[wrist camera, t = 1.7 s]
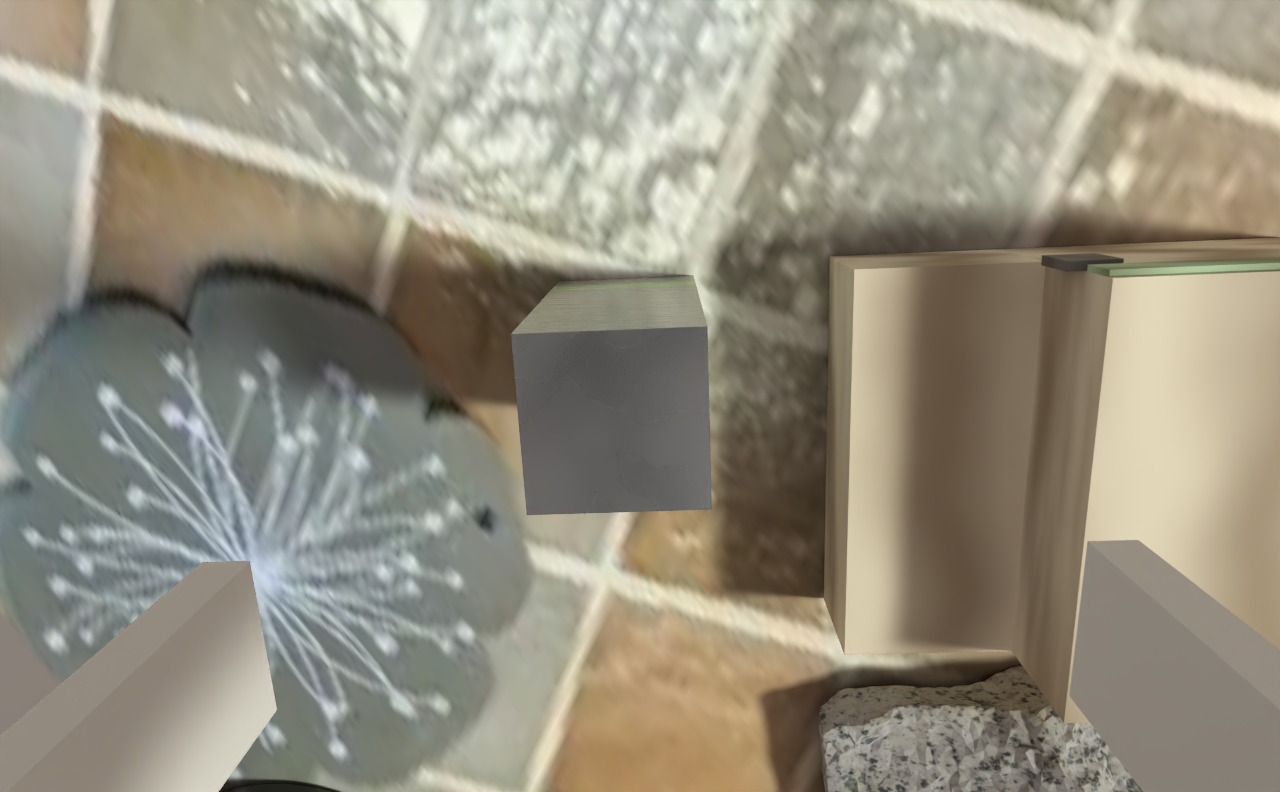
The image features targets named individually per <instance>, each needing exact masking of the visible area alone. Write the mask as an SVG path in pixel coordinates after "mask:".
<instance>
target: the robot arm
mask: <svg viewBox="0 0 1280 792" xmlns="http://www.w3.org/2000/svg"><path fill="white" fill-rule="evenodd" d="M1069 696H1070V698H1071V699H1072V700H1073V701H1074V703H1075V704H1076V705H1077V707H1078V708H1079V709H1080V711H1081V712H1082V713H1083V714H1084V716H1085V717H1086V718H1087V720H1088V721H1089V722H1090V723H1091V725H1092V726H1093V727H1094V729H1095V730H1096V731H1097V733H1098V734H1099V735H1100V736H1101V738H1102V739H1103V740H1104V742H1105V743H1106V744H1107V745H1108V747H1109V748H1110V749H1111V751H1112V752H1113V753H1114V755H1115V756H1116V757H1117V758H1118V760H1119V761H1120V762H1121V764H1122V765H1123V766H1124V767H1125V769H1126V770H1127V771H1128V773H1129V774H1130V775H1131V777H1132V778H1133V779H1134V780H1135V782H1136V783H1137V784H1138V786H1139V787H1140V788H1141V789H1142V791H1143V792H1280V650H1279V649H1278V648H1277V647H1275V646H1274V645H1273V644H1271V643H1270V642H1269V641H1268V640H1266V639H1265V638H1264V637H1262V636H1261V635H1260V634H1259V633H1257V632H1256V631H1255V630H1253V629H1252V628H1251V627H1250V626H1248V625H1247V624H1246V623H1244V622H1243V621H1242V620H1241V619H1239V618H1238V617H1237V616H1235V615H1234V614H1233V613H1232V612H1230V611H1229V610H1228V609H1226V608H1225V607H1224V606H1223V605H1221V604H1220V603H1219V602H1217V601H1216V600H1215V599H1214V598H1212V597H1211V596H1210V595H1208V594H1207V593H1206V592H1205V591H1203V590H1202V589H1201V588H1199V587H1198V586H1197V585H1196V584H1194V583H1193V582H1192V581H1191V580H1189V579H1188V578H1187V577H1185V576H1184V575H1183V574H1182V573H1180V572H1179V571H1178V570H1176V569H1175V568H1174V567H1173V566H1171V565H1170V564H1169V563H1167V562H1166V561H1165V560H1164V559H1162V558H1161V557H1160V556H1158V555H1157V554H1156V553H1155V552H1153V551H1152V550H1151V549H1149V548H1148V547H1147V546H1146V545H1144V544H1143V543H1142V542H1140V541H1139V540H1113V541H1088V542H1087V550H1086V559H1085V567H1084V576H1083V584H1082V593H1081V601H1080V609H1079V618H1078V626H1077V635H1076V643H1075V652H1074V660H1073V669H1072V677H1071V686H1070V694H1069ZM276 710H277V708H276V702H275V697H274V691H273V686H272V680H271V675H270V669H269V664H268V659H267V653H266V648H265V642H264V637H263V631H262V626H261V620H260V615H259V609H258V604H257V599H256V593H255V588H254V582H253V577H252V571H251V566H250V561H233V562H202V563H201V564H200V565H199V566H198V567H196V568H195V569H194V570H193V571H192V572H191V573H189V574H188V575H187V576H186V577H185V578H184V579H182V580H181V581H180V582H179V583H178V584H177V585H175V586H174V587H173V588H172V589H171V590H170V591H168V592H167V593H166V594H165V595H164V596H163V597H161V598H160V599H159V600H158V601H157V602H156V603H154V604H153V605H152V606H151V607H150V608H149V609H147V610H146V611H145V612H144V613H143V614H142V615H140V616H139V617H138V618H137V619H136V620H135V621H133V622H132V623H131V624H130V625H129V626H128V627H126V628H125V629H124V630H123V631H122V632H121V633H119V634H118V635H117V636H116V637H115V638H114V639H112V640H111V641H110V642H109V643H108V644H107V645H105V646H104V647H103V648H102V649H101V650H100V651H98V652H97V653H96V654H95V655H94V656H93V657H91V658H90V659H89V660H88V661H87V662H86V663H84V664H83V665H82V666H81V667H80V668H79V669H77V670H76V671H75V672H74V673H73V674H72V675H70V676H69V677H68V678H67V679H66V680H65V681H63V682H62V683H61V684H60V685H59V686H58V687H56V688H55V689H54V690H53V691H52V692H51V693H49V694H48V695H47V696H46V697H45V698H44V699H42V700H41V701H40V702H39V703H38V704H37V705H35V706H34V707H33V708H32V709H31V710H30V711H28V712H27V713H26V714H25V715H24V716H23V717H21V718H20V719H19V720H18V721H17V722H16V723H14V724H13V725H12V726H11V727H10V728H9V729H7V730H6V731H5V732H4V733H3V734H2V735H0V792H219V790H220V789H221V788H222V786H223V785H224V783H225V782H226V781H227V779H228V778H229V776H230V775H231V774H232V772H233V771H234V769H235V768H236V767H237V765H238V764H239V762H240V761H241V760H242V758H243V757H244V755H245V754H246V753H247V751H248V750H249V748H250V747H251V745H252V744H253V743H254V741H255V740H256V738H257V737H258V736H259V734H260V733H261V731H262V730H263V729H264V727H265V726H266V724H267V723H268V722H269V720H270V719H271V717H272V716H273V715H274V713H275V712H276ZM224 792H331V791H327V790H324V789H319V788H314V787H309V786H301V785H292V784H260V785H251V786H245V787H239V788H235V789H231V790H227V791H224Z"/></svg>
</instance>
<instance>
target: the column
mask: <svg viewBox="0 0 1280 792" xmlns="http://www.w3.org/2000/svg"><path fill="white" fill-rule="evenodd" d="M511 341H512V352H513V364H514V375H515V386H516V397H517V408H518V420H519V431H520V442H521V453H522V464H523V476H524V487H525V498H526V509H527V515H543V514H576V513H609V512H641V511H674V510H707V509H712V506H711V463H710V420H709V377H708V334H707V323H706V320H705V316H704V312H703V309H702V305H701V302H700V298H699V294H698V291H697V287H696V283H695V280H694V276H671V277H647V278H623V279H599V280H575V281H559V282H558V283H557V284H556V285H555V286H554V287H553V288H552V290H551V291H550V292H549V293H548V294H547V295H546V296H545V297H544V298H543V299H542V300H541V302H540V303H539V304H538V305H537V306H536V307H535V308H534V309H533V310H532V311H531V313H530V314H529V315H528V316H527V317H526V318H525V319H524V320H523V321H522V322H521V323H520V325H519V326H518V327H517V328H516V329H515V330H514V331H513V332H512V333H511Z"/></svg>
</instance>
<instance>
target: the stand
mask: <svg viewBox="0 0 1280 792" xmlns="http://www.w3.org/2000/svg"><path fill="white" fill-rule="evenodd" d="M1113 540H1139V541H1140V542H1142V543H1143V544H1144V545H1146V546H1147V547H1148V548H1149V549H1151V550H1152V551H1153V552H1155V553H1156V554H1157V555H1158V556H1160V557H1161V558H1162V559H1164V560H1165V561H1166V562H1167V563H1169V564H1170V565H1171V566H1173V567H1174V568H1175V569H1176V570H1178V571H1179V572H1180V573H1182V574H1183V575H1184V576H1185V577H1187V578H1188V579H1189V580H1191V581H1192V582H1193V583H1194V584H1196V585H1197V586H1198V587H1199V588H1201V589H1202V590H1203V591H1205V592H1206V593H1207V594H1208V595H1210V596H1211V597H1212V598H1214V599H1215V600H1216V601H1217V602H1219V603H1220V604H1221V605H1223V606H1224V607H1225V608H1226V609H1228V610H1229V611H1230V612H1232V613H1233V614H1234V615H1235V616H1237V617H1238V618H1239V619H1241V620H1242V621H1243V622H1244V623H1246V624H1247V625H1248V626H1250V627H1251V628H1252V629H1253V630H1255V631H1256V632H1257V633H1259V634H1260V635H1261V636H1262V637H1264V638H1265V639H1266V640H1268V641H1269V642H1270V643H1271V644H1273V645H1274V646H1275V647H1277V648H1278V649H1279V650H1280V237H1276V238H1252V239H1229V240H1205V241H1181V242H1158V243H1134V244H1110V245H1087V246H1063V247H1039V248H1016V249H992V250H968V251H945V252H921V253H897V254H874V255H850V256H830V273H829V331H828V389H827V447H826V505H825V563H824V601H825V603H826V606H827V609H828V611H829V614H830V617H831V619H832V622H833V625H834V627H835V630H836V633H837V636H838V638H839V641H840V644H841V646H842V649H843V652H844V654H845V655H853V654H896V653H939V652H982V651H1012V652H1013V653H1014V655H1015V656H1016V657H1017V659H1018V660H1019V662H1020V663H1021V664H1022V666H1023V667H1024V669H1025V670H1026V671H1027V673H1028V674H1029V675H1030V677H1031V678H1032V680H1033V681H1034V682H1035V684H1036V685H1037V687H1038V688H1039V689H1040V691H1041V692H1042V694H1043V695H1044V696H1045V698H1046V699H1047V700H1048V702H1049V703H1050V705H1051V706H1052V707H1053V709H1054V710H1055V712H1056V713H1057V714H1058V716H1059V717H1060V719H1061V720H1062V721H1063V723H1090V722H1089V721H1088V720H1087V718H1086V717H1085V716H1084V714H1083V713H1082V712H1081V711H1080V709H1079V708H1078V707H1077V705H1076V704H1075V703H1074V701H1073V700H1072V699H1071V698H1070V696H1069V694H1070V686H1071V677H1072V669H1073V660H1074V652H1075V643H1076V635H1077V626H1078V618H1079V609H1080V601H1081V593H1082V584H1083V576H1084V567H1085V559H1086V550H1087V542H1088V541H1113Z"/></svg>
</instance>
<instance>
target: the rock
mask: <svg viewBox="0 0 1280 792" xmlns="http://www.w3.org/2000/svg"><path fill="white" fill-rule="evenodd" d="M818 712H819V717H820V720H819V737H820V742H821V751H822V774H823V780H824V786H825V792H1143V791H1142V789H1141V788H1140V787H1139V786H1138V784H1137V783H1136V782H1135V780H1134V779H1133V778H1132V777H1131V775H1130V774H1129V773H1128V771H1127V770H1126V769H1125V767H1124V766H1123V765H1122V764H1121V762H1120V761H1119V760H1118V758H1117V757H1116V756H1115V755H1114V753H1113V752H1112V751H1111V749H1110V748H1109V747H1108V745H1107V744H1106V743H1105V742H1104V740H1103V739H1102V738H1101V736H1100V735H1099V734H1098V733H1097V731H1096V730H1095V729H1094V727H1093V726H1092V725H1091V723H1063V721H1062V720H1061V719H1060V717H1059V716H1058V714H1057V713H1056V712H1055V710H1054V709H1053V707H1052V706H1051V705H1050V703H1049V702H1048V700H1047V699H1046V698H1045V696H1044V695H1043V694H1042V692H1041V691H1040V689H1039V688H1038V687H1037V685H1036V684H1035V682H1034V681H1033V680H1032V678H1031V677H1030V675H1029V674H1028V673H1027V671H1026V670H1025V669H1024V667H1023V666H1022V665H1021V666H1015V667H1011V668H1009V669H1007V670H1005V671H1003V672H1000V673H996V674H994V675H993V676H991V677H990V678H988V679H987V680H985V681H984V682H977V683H974V684H972V685H957V686H953V687H949V688H946V687H943V686H942V687H937V688H931V687H923V688H917V687H915V686H899V685H891V686H871V687H864V688H856V689H855V688H845V689H842V690H840V691H838V692H837V693H836V694H835V695H834V696H833V697H831V698H830V699H829V700H828V701H827V702H826V703H825V704H824V705H822V706H821V707H820V710H819V711H818Z"/></svg>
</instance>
